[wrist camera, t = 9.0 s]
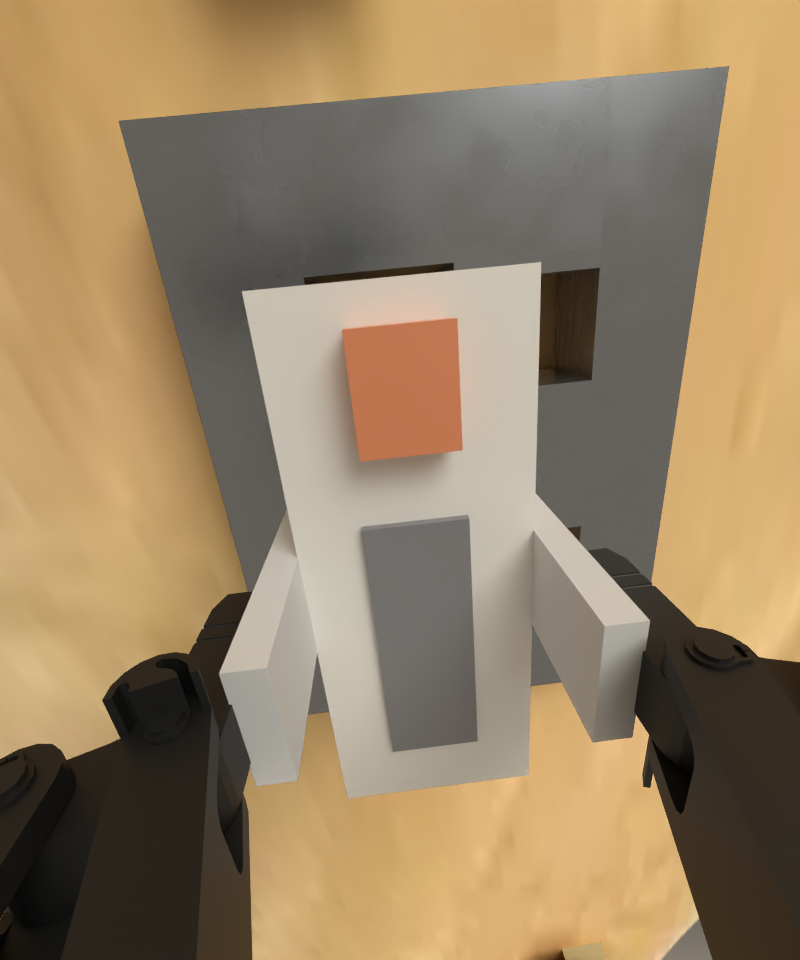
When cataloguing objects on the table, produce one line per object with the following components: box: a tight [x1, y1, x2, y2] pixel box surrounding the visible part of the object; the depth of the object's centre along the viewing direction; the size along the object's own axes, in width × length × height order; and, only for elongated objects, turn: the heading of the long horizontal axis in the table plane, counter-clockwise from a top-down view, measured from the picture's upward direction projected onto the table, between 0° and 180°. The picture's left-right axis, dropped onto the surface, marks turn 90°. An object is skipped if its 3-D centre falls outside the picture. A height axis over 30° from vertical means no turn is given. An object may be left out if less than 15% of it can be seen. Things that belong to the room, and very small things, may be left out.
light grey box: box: [242, 262, 541, 798], centre depth 15 cm, size 6×14×11 cm, turn 5°
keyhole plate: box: [119, 66, 729, 714], centre depth 19 cm, size 18×24×4 cm
